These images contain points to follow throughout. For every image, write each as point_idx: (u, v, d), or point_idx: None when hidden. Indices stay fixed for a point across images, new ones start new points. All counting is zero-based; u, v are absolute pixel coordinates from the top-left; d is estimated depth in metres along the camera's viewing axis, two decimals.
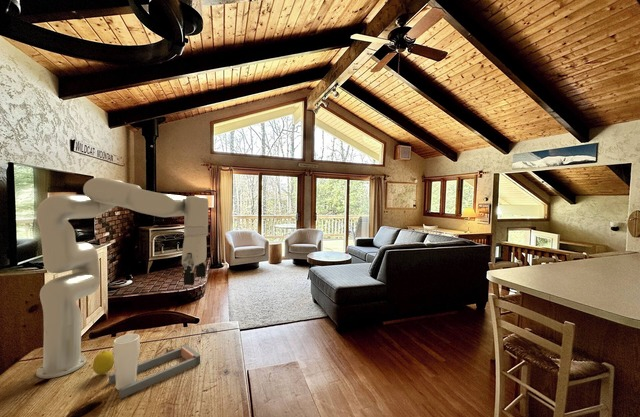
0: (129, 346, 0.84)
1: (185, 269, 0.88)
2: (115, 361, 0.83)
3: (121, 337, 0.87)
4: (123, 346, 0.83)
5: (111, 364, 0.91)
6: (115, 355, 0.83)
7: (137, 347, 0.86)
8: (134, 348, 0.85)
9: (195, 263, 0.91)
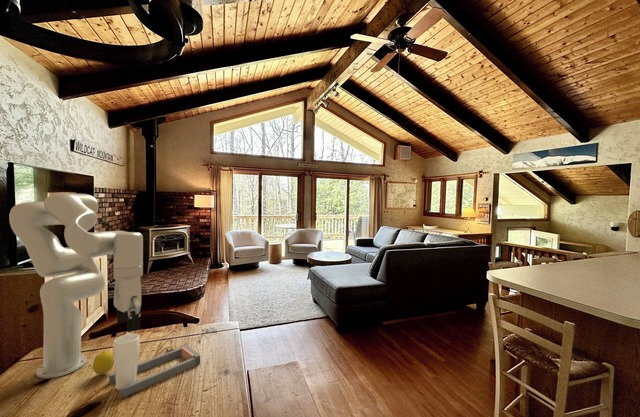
0: (129, 346, 0.84)
1: (136, 314, 0.81)
2: (115, 361, 0.83)
3: (121, 337, 0.87)
4: (123, 346, 0.83)
5: (111, 364, 0.91)
6: (115, 355, 0.83)
7: (137, 347, 0.86)
8: (134, 348, 0.85)
9: None
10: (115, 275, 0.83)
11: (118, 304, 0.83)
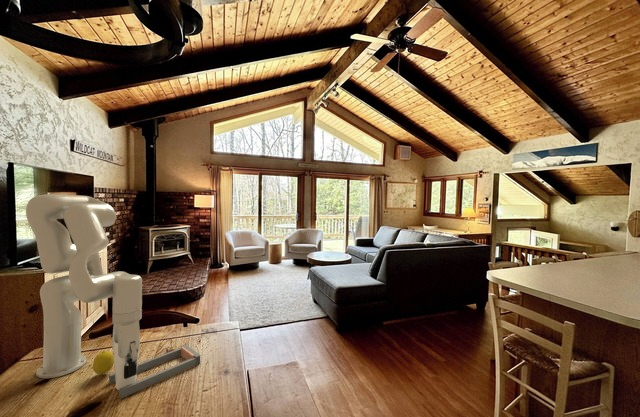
0: None
1: (132, 361, 0.82)
2: (115, 361, 0.83)
3: None
4: None
5: (111, 364, 0.91)
6: (115, 355, 0.83)
7: None
8: None
9: (138, 350, 0.85)
10: (114, 320, 0.83)
11: None
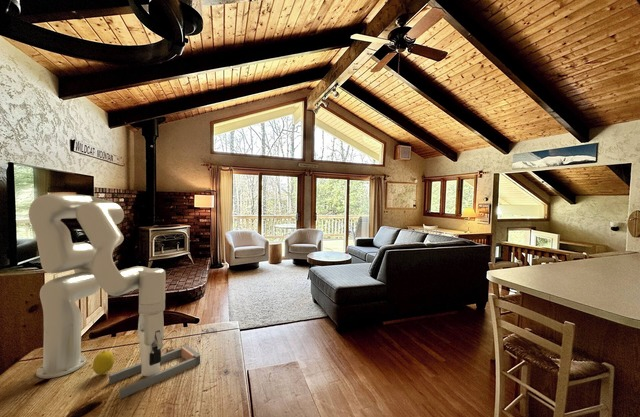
0: None
1: (157, 349, 0.88)
2: (141, 349, 0.89)
3: None
4: None
5: (111, 364, 0.91)
6: (141, 343, 0.89)
7: None
8: None
9: (162, 339, 0.90)
10: (140, 310, 0.88)
11: None
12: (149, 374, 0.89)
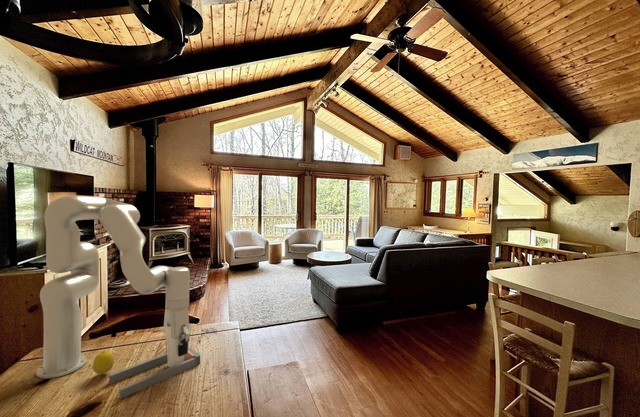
0: None
1: (185, 341, 0.93)
2: (168, 342, 0.95)
3: None
4: None
5: (111, 364, 0.91)
6: (168, 337, 0.95)
7: None
8: None
9: None
10: (167, 306, 0.95)
11: None
12: None
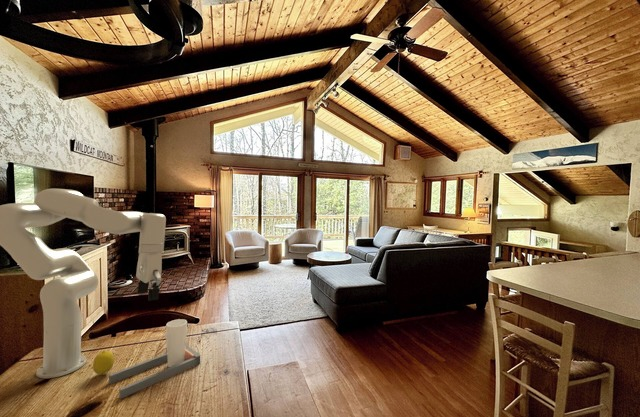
0: (180, 329, 0.96)
1: (156, 285, 0.92)
2: (168, 342, 0.95)
3: (171, 322, 0.99)
4: (175, 329, 0.95)
5: (111, 364, 0.91)
6: (168, 337, 0.95)
7: (185, 331, 0.98)
8: (183, 331, 0.97)
9: None
10: (140, 250, 0.94)
11: (141, 276, 0.94)
12: None
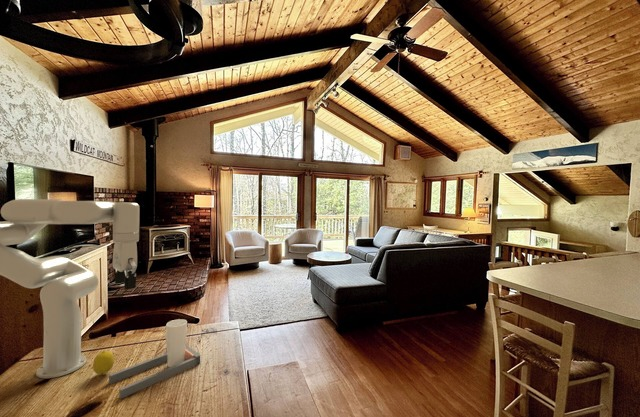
0: (179, 329, 0.96)
1: (132, 273, 0.92)
2: (168, 342, 0.95)
3: (171, 322, 0.99)
4: (175, 329, 0.95)
5: (111, 364, 0.91)
6: (168, 337, 0.95)
7: (185, 330, 0.98)
8: (183, 331, 0.97)
9: (136, 267, 0.95)
10: (114, 239, 0.93)
11: (116, 265, 0.94)
12: None
